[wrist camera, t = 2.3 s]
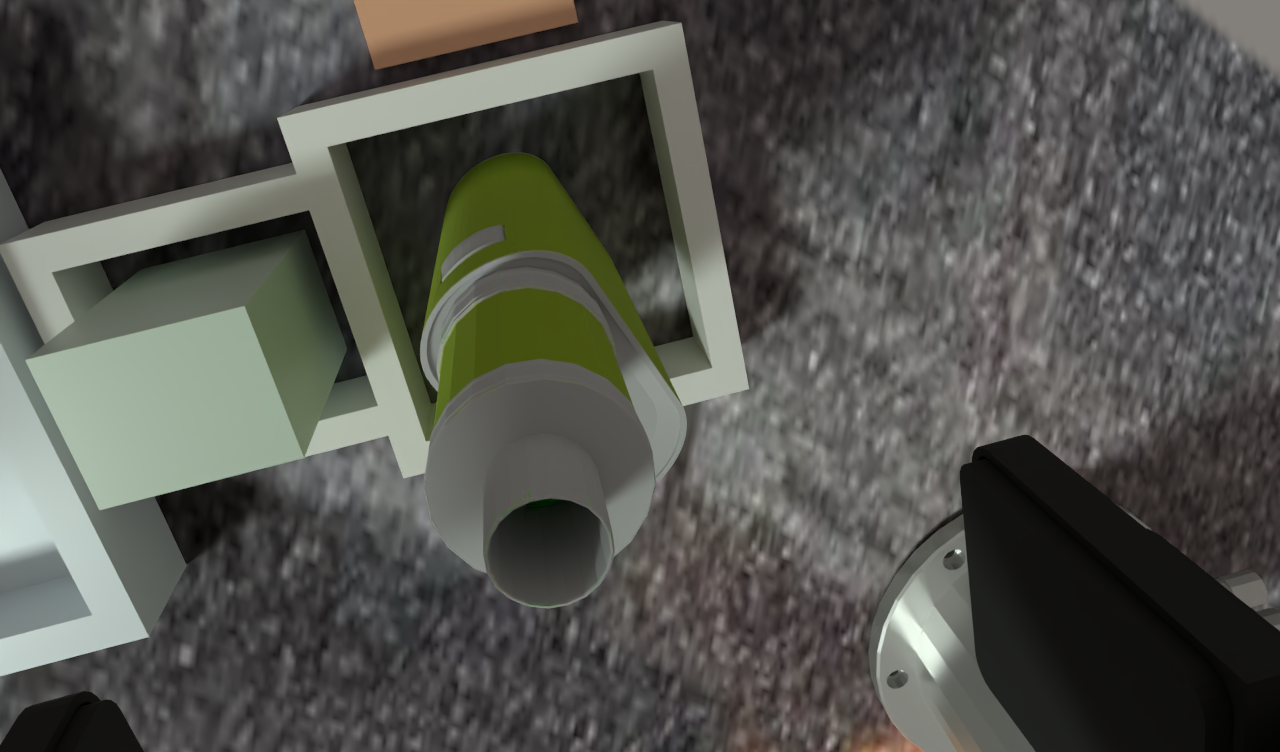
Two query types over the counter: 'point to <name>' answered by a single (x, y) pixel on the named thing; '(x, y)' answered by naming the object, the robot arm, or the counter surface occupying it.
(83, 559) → the tray
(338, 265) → the grey double square frame
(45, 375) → the fuse
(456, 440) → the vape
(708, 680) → the counter surface
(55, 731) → the robot arm
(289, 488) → the counter surface
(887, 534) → the counter surface
